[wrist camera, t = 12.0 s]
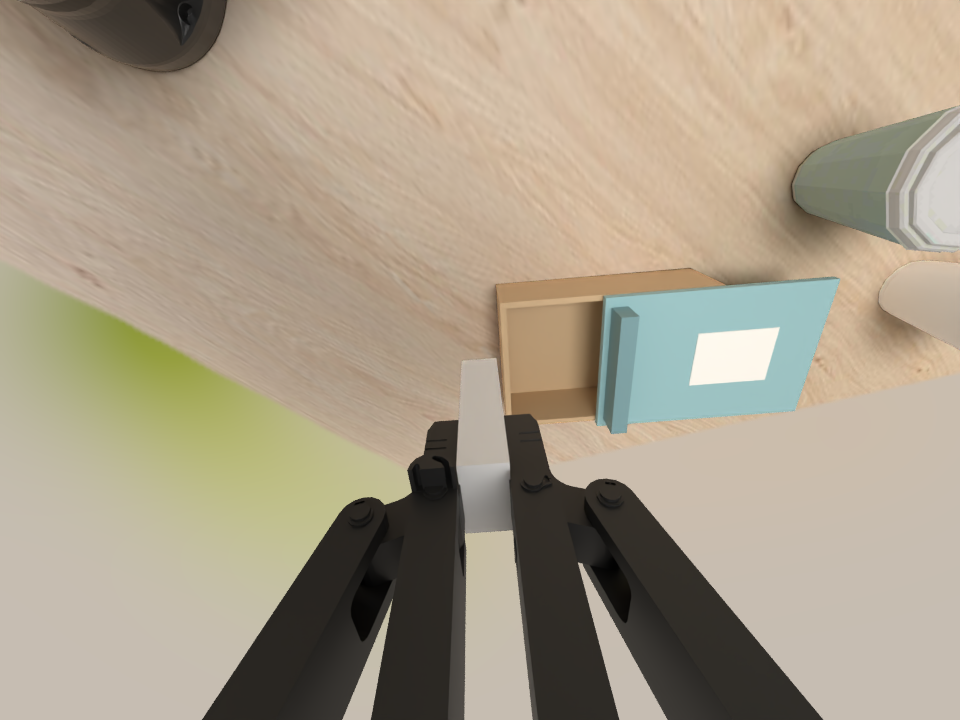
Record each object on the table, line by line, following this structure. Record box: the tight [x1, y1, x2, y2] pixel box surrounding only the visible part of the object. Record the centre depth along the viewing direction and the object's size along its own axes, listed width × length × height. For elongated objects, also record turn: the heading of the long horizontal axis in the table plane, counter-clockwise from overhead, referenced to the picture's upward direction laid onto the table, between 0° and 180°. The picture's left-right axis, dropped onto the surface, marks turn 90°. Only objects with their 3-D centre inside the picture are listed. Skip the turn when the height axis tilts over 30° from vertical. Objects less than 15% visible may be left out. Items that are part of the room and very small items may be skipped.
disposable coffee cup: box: [792, 105, 960, 252], centre depth 33 cm, size 11×11×15 cm
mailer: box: [496, 268, 725, 425], centre depth 44 cm, size 22×15×7 cm
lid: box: [595, 277, 840, 434], centre depth 39 cm, size 22×15×4 cm
